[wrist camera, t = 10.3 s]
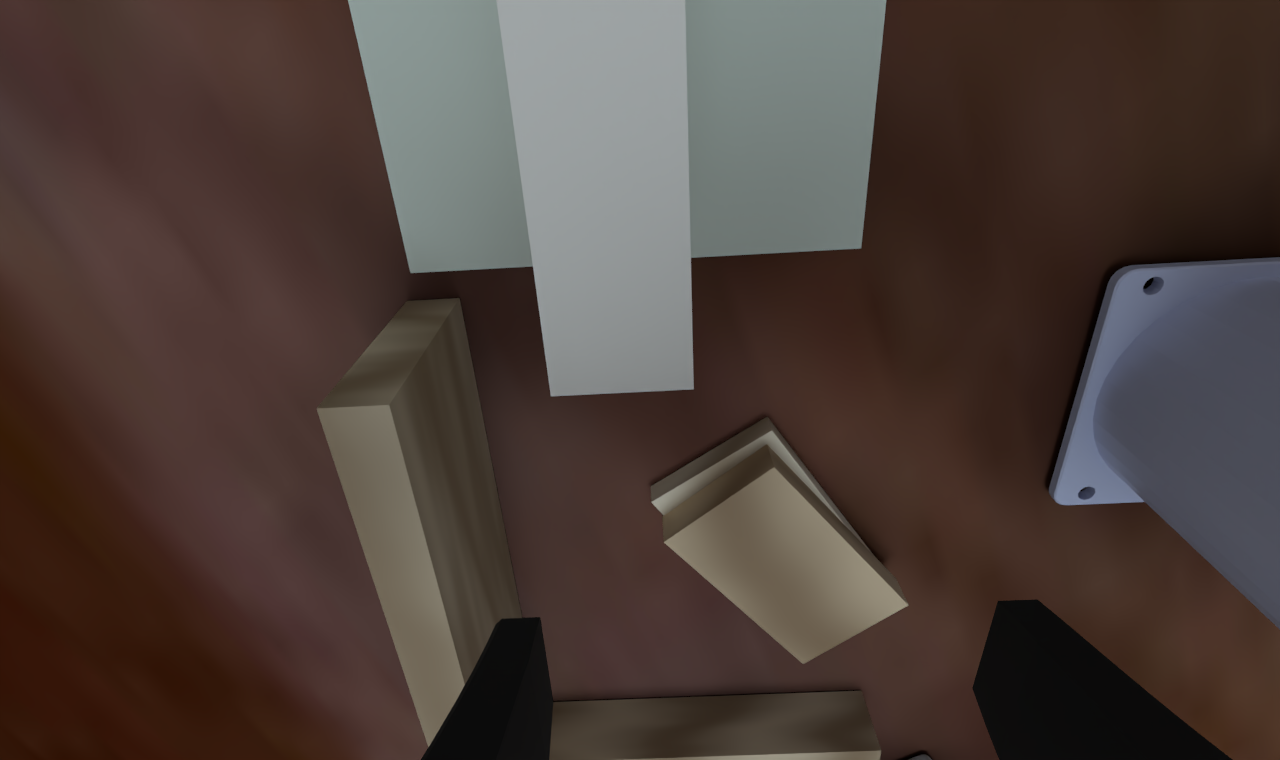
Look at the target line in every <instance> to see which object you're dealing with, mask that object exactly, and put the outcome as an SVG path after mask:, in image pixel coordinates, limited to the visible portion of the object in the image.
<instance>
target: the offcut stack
mask: <svg viewBox="0 0 1280 760" xmlns="http://www.w3.org/2000/svg"><path fill="white" fill-rule="evenodd" d="M651 502H652V503H653V505H654V506H655V507H656V508H657V509H658V510H659V511H660V512H661V513H662V514H663V515H664V516H663V517H662V519H663V537H664V543H665V544H666V545H668V546H669V547H670V548H671V549H672V550H673V551H674V552H676V553H677V554H678V555H679V556H680V557H681V558H682V559H684V560H685V561H686V562H687V563H688V564H689V565H690V566H692V567H693V568H694V569H695V570H696V571H697V572H698V573H700V574H701V575H702V576H703V577H704V578H705V579H706V580H708V581H709V582H710V583H711V584H712V585H713V586H714V587H716V588H717V589H718V590H719V591H720V592H721V593H722V594H724V595H725V596H726V597H727V598H728V599H729V600H730V601H732V602H733V603H734V604H735V605H736V606H737V607H739V608H740V609H741V610H742V611H743V612H744V613H745V614H747V615H748V616H749V617H750V618H751V619H752V620H753V621H755V622H756V623H757V624H758V625H759V626H760V627H761V628H763V629H764V630H765V631H766V632H767V633H768V634H769V635H771V636H772V637H773V638H774V639H775V640H776V641H777V642H779V643H780V644H781V645H782V646H783V647H784V648H785V649H787V650H788V651H789V652H790V653H791V654H792V655H793V656H795V657H796V658H797V659H798V660H799V661H800V662H801V663H803V664H804V663H806V662H808V661H809V660H811V659H813V658H815V657H817V656H818V655H820V654H822V653H824V652H826V651H827V650H829V649H831V648H833V647H834V646H836V645H838V644H840V643H842V642H843V641H845V640H847V639H849V638H851V637H852V636H854V635H856V634H858V633H860V632H861V631H863V630H865V629H867V628H869V627H870V626H872V625H874V624H876V623H878V622H879V621H881V620H883V619H885V618H887V617H888V616H890V615H892V614H894V613H896V612H897V611H899V610H901V609H903V608H904V607H906V606H908V603H907V601H906V599H905V597H904V595H903V592H902V590H901V588H900V586H899V584H898V582H897V580H896V578H895V577H894V576H893V575H892V574H891V573H890V572H889V571H888V570H887V569H886V568H885V567H884V565H883V564H882V563H881V562H880V561H879V560H878V559H877V558H876V557H875V556H874V555H873V554H872V552H871V551H870V550H869V549H868V547H867V546H866V545H865V543H864V542H863V541H862V539H861V538H860V537H859V536H858V534H857V533H856V532H855V530H854V529H853V528H852V526H851V525H850V524H849V522H848V521H847V520H846V519H845V517H844V516H843V515H842V513H841V512H840V511H839V509H838V508H837V507H836V506H835V504H834V503H833V502H832V500H831V499H830V498H829V496H828V495H827V494H826V492H825V491H824V490H823V489H822V487H821V486H820V485H819V483H818V482H817V481H816V479H815V478H814V477H813V476H812V474H811V473H810V472H809V470H808V469H807V468H806V466H805V465H804V464H803V462H802V461H801V460H800V459H799V457H798V456H797V455H796V453H795V452H794V451H793V449H792V448H791V447H790V446H789V444H788V443H787V442H786V440H785V439H784V438H783V436H782V435H781V434H780V432H779V431H778V430H777V429H776V427H775V426H774V425H773V423H772V422H771V421H770V419H769V418H768V417H766V418H764V419H762V420H761V421H759V422H757V423H756V424H754V425H752V426H751V427H749V428H747V429H746V430H744V431H742V432H741V433H739V434H737V435H736V436H734V437H732V438H731V439H729V440H727V441H726V442H724V443H722V444H721V445H719V446H717V447H716V448H714V449H712V450H711V451H709V452H707V453H706V454H704V455H702V456H701V457H699V458H697V459H696V460H694V461H692V462H691V463H689V464H687V465H686V466H684V467H682V468H681V469H679V470H677V471H676V472H674V473H672V474H671V475H669V476H667V477H666V478H664V479H662V480H661V481H659V482H657V483H656V484H654V485H652V486H651Z"/></svg>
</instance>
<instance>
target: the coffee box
mask: <svg viewBox="0 0 1280 760" xmlns="http://www.w3.org/2000/svg"><path fill="white" fill-rule="evenodd" d="M908 760H932V759H931V758H930V757H929V756H928V755H918V756H916V757H913V758H911V759H908Z"/></svg>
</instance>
